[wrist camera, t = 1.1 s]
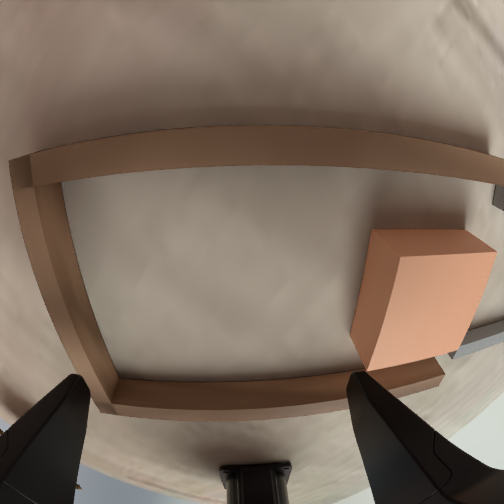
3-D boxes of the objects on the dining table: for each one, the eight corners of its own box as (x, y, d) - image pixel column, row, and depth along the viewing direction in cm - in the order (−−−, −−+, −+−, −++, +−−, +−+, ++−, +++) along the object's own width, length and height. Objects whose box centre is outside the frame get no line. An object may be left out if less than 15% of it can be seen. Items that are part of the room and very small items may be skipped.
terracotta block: (433, 318, 15) (457, 349, 13) (348, 331, 15) (366, 371, 12) (461, 227, 13) (497, 251, 10) (368, 226, 12) (400, 256, 10)
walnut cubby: (426, 366, 17) (438, 385, 15) (108, 388, 16) (100, 412, 14) (489, 154, 11) (516, 163, 9) (36, 152, 10) (8, 161, 8)
